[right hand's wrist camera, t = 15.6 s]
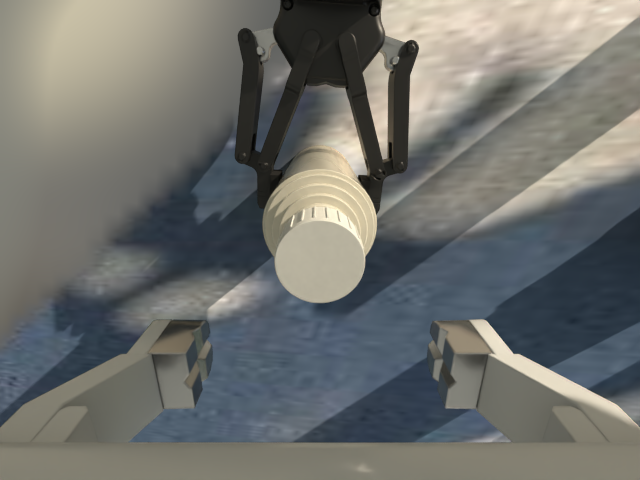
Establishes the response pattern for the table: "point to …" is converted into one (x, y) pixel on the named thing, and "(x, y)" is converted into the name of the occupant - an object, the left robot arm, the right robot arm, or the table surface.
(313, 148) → the bottle
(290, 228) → the cap
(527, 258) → the table surface
